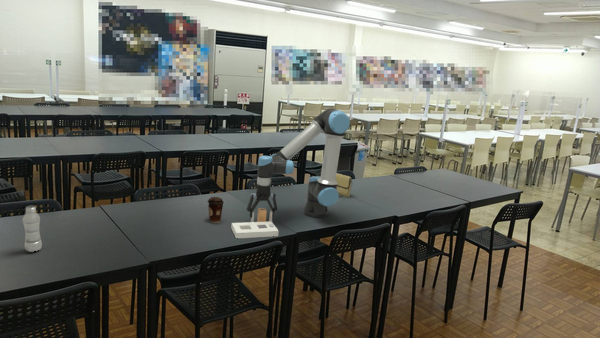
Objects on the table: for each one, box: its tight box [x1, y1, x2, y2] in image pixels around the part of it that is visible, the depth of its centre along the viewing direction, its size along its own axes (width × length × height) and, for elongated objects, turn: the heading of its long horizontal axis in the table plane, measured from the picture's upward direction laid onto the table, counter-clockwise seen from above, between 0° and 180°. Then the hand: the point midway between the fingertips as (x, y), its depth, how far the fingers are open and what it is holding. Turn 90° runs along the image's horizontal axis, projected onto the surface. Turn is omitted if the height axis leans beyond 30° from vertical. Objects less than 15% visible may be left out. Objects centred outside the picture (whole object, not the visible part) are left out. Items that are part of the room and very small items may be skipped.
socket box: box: [230, 220, 279, 239], centre depth 230 cm, size 22×14×4 cm, turn 109°
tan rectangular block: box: [256, 207, 267, 222], centre depth 244 cm, size 4×4×8 cm
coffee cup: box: [207, 196, 224, 224], centre depth 241 cm, size 9×8×13 cm
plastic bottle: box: [22, 205, 43, 253], centre depth 188 cm, size 6×7×20 cm
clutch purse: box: [317, 168, 353, 198], centre depth 312 cm, size 30×7×15 cm, turn 48°
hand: (261, 222), depth 245 cm, fingers open, 10 cm apart
